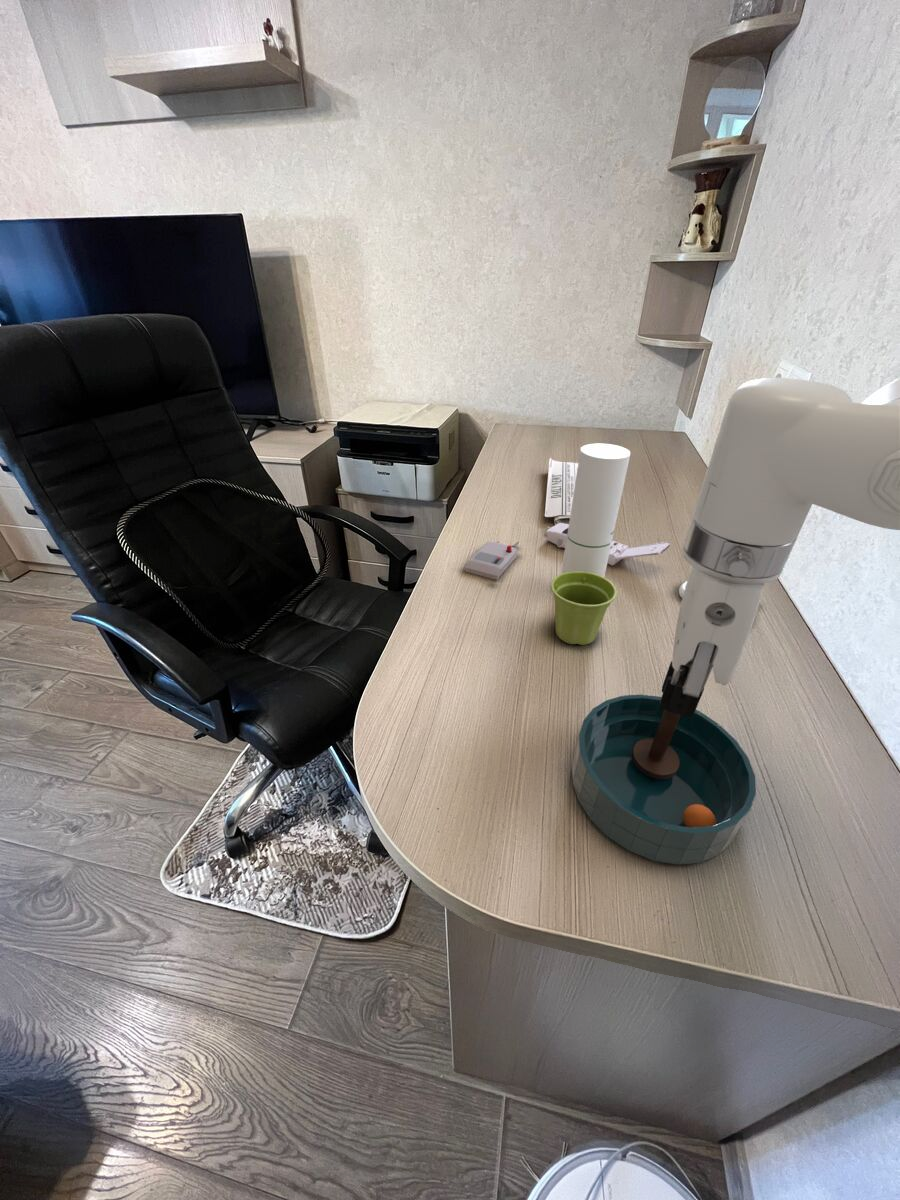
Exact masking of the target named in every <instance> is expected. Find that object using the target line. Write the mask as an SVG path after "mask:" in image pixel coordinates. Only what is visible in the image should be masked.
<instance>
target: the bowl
mask: <svg viewBox="0 0 900 1200" xmlns="http://www.w3.org/2000/svg"><path fill="white" fill-rule="evenodd" d="M661 697H662V696H657V695H648V694H639V693H638V694H624V695H619V696H617V697H613V698H610V699H606V700H604V701H603V702H601V703H599V704H598V705H596V706H595V707H593V708H592V709H591V711H590V712H588V714H587V715H586V716H585V718H584V719H583V721H582V724H581V726H580V730H579V733H578V736H577V737H578V738H577V741H576V746H575V752H574V755H573V759H572V763H571V779H572V785H573V788H574V791H575V795H576V797H577V800H578V803H579V804H580V806H581V807H582V809H583V811H584V813H585V814H586V815H587V816H588V818H589V820H590V821H591V822H592V823H593V824H594V825H595V826H596V827H597V828H598V830H600V831H601V832H602V833H603V834H604V835H605V836H606V837H608V838H609V839H610V840H612V841H613V842H615V843H616V844H618V845H619V846H621V847H622V848H624V849H626V850H627V851H629V852H631V853H634V854H636V855H639V856H640V857H643V858H646V859H648V860H651V861H654V862H661V863H666V864H672V865H690V864H699V863H704V862H705V861H707V860H710V859H712V858H715V857H716V856H719V855H720V854H721V853H722V852H723V851H725V849H726V848H727V847H728V846H729V845H730V844H731V843H732V842H733V840H734V838H735V837H736V836H737V833H738V832H739V830H740V829H741V826H742V825H743V823H744V822H745V820H746V818H747V817H748V815H749V813H750V812H751V809H752V806H753V804H754V801H755V799H756V796H757V786H756V785H757V784H756V774H755V772H754V769H753V766H752V764H751V762H750V758H749V757H748V755H747V753H746V752H745V751H744V750H743V748H742V747H741V745H740V744H739V742H738V740H736V739H735V738H734V737H733V736H732V735H731V734H730V733H729V732H728V731H727V730H726V729H725V728H724V727H723V726H722V725H721V724H719V723H718V722H717V721H715V720H713V719H712V718H711V717H709V716H708V715H706V714H705V713H703V712H701V711H700V710H697V709H696V710H695V713H694V715H693V717H686V716H683V715H681V716H680V718H679V721H678V723H677V726H676V728H675V731H674V733H673V736H672V739H671V741H670V744H669V746H670V747H671V748H672V749H673V750H674V751H675V752H676V754H677V755H678V758H679V762H680V764H679V768H678V770H677V772H676V774H675V775H674V776H673V777H671V778H668V779H656V778H652V777H650V776H647V775H646V774H644V773H642V772H641V771H640V770H639V769H638V768H637V767H636V766H635V764H634V762H633V760H632V750H633V747H634V745H635V744H636V743H637V742H638V741H640V740H642V739H654V737H655V734H656V732H657V729H658V726H659V723H660V721H661V718H662V715H663V712H664V710H663V709H661V708H660V707H659V704H660V700H661ZM694 804H699V805H703V806H705V807H707V808H708V809H710V810H711V812H712V813H713V814H714V816H715V819H716V825H714V826H706V827H694V828H690V827H685V825H684V822H683V813H684V811H685V810H686V808H687V807H689V806H691V805H694Z"/></svg>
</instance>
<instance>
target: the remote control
mask: <svg viewBox="0 0 900 1200" xmlns="http://www.w3.org/2000/svg"><path fill="white" fill-rule="evenodd" d="M519 543H520V541H516V543H514V544H513V545H508V544H503V543H500V541H499V540H498V541H497V542H495V541H486V542H485V543H484V544H483V545H482V546H481V547H480V548H479V549H478V550H476V552H475V553H474V554H473V555H472V556H471V557H470V558H469V559H468V560H467V562H466V564H465V566H464V572H466V573H469V574H472V575H476V576H480V577H484V578H487V579H491V580H495V581H497V580H499V578H500V577H501V576H502V575H503V573H504V572H505V571H506V570H507V569H508V567H510V565H511V564H512V563H513V562H514V560H515V559H516V558H517V557H518V556H517V555H518V549H517V548H516V547H518V544H519Z"/></svg>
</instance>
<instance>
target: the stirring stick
mask: <svg viewBox="0 0 900 1200" xmlns="http://www.w3.org/2000/svg"><path fill="white" fill-rule="evenodd" d="M682 672H685V673H688V672H689V669H685V668H683V670H682ZM680 716H681V715H679V714H676V713H673V712H669V711H666V710H664V712H663V715H662V718H661V721H660V723H659V726H658V729H657V732H656V734H655V737H654V739H642V740H640V741H638V742H637V743H636V744H635V745H634V747H633V750H632V760H633V762H634V764H635V766H636V767H637V768H638V769H639V770H640V771H641V772H642V773H644V774H646V775H647V776H650V777H652V778H656V779H668V778H671V777H673V776H674V775H675V774H676V772H677V770H678V768H679V764H680V762H679V758H678V755H677V754H676V752H675V751H674V750H673V749H672V748H671V747H670V746H669V744H670V741H671V739H672V736H673V733H674V731H675V728H676V726H677V723H678V721H679V718H680Z"/></svg>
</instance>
